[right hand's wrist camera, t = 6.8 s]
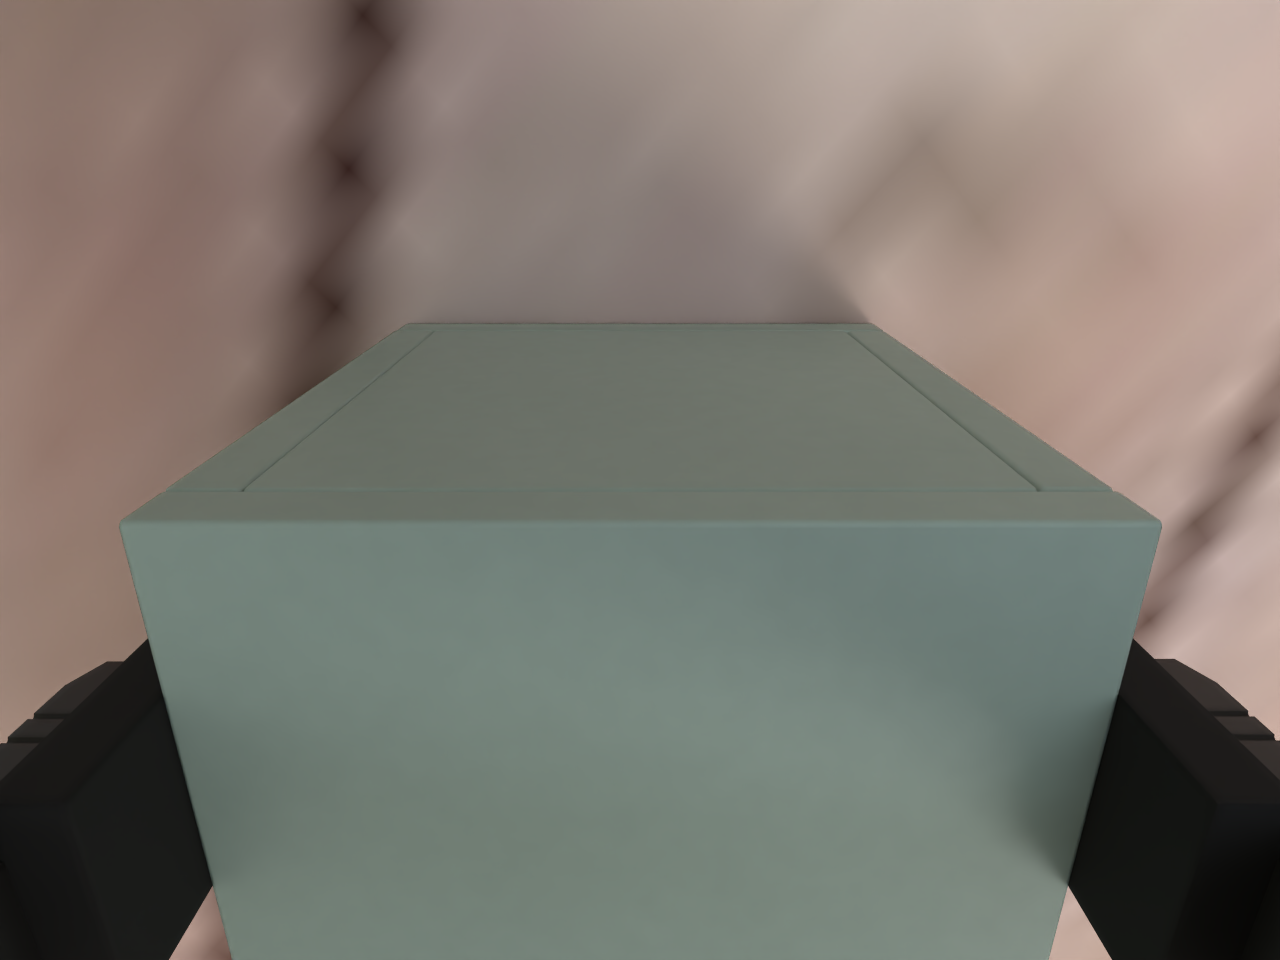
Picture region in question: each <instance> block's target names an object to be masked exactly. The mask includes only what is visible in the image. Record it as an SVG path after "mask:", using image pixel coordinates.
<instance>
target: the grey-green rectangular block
mask: <svg viewBox="0 0 1280 960" xmlns="http://www.w3.org/2000/svg"><path fill="white" fill-rule="evenodd" d="M119 529H120V532H121V536H122V540H123V544H124V548H125V551H126V555H127V559H128V563H129V567H130V571H131V574H132V578H133V582H134V586H135V590H136V594H137V597H138V601H139V605H140V609H141V613H142V617H143V620H144V624H145V628H146V632H147V636H148V639H149V643H150V647H151V651H152V655H153V659H154V662H155V666H156V670H157V674H158V678H159V682H160V685H161V689H162V693H163V697H164V701H165V704H166V708H167V712H168V716H169V720H170V724H171V727H172V731H173V735H174V739H175V743H176V747H177V750H178V754H179V758H180V762H181V766H182V770H183V773H184V777H185V781H186V785H187V789H188V792H189V796H190V800H191V804H192V808H193V812H194V815H195V819H196V823H197V827H198V831H199V835H200V838H201V842H202V846H203V850H204V854H205V857H206V861H207V865H208V869H209V873H210V877H211V880H212V884H213V888H214V892H215V896H216V900H217V903H218V907H219V911H220V915H221V919H222V923H223V926H224V930H225V934H226V938H227V942H228V945H229V949H230V953H231V957H232V960H1048V959H1049V956H1050V952H1051V948H1052V944H1053V940H1054V937H1055V933H1056V929H1057V925H1058V921H1059V917H1060V914H1061V910H1062V906H1063V902H1064V898H1065V895H1066V891H1067V887H1068V883H1069V879H1070V876H1071V872H1072V868H1073V864H1074V860H1075V857H1076V853H1077V849H1078V845H1079V841H1080V837H1081V834H1082V830H1083V826H1084V822H1085V818H1086V815H1087V811H1088V807H1089V803H1090V799H1091V796H1092V792H1093V788H1094V784H1095V780H1096V776H1097V773H1098V769H1099V765H1100V761H1101V757H1102V754H1103V750H1104V746H1105V742H1106V738H1107V735H1108V731H1109V727H1110V723H1111V719H1112V715H1113V712H1114V708H1115V704H1116V700H1117V696H1118V693H1119V689H1120V685H1121V681H1122V677H1123V674H1124V670H1125V666H1126V662H1127V658H1128V655H1129V651H1130V647H1131V643H1132V639H1133V635H1134V632H1135V628H1136V624H1137V620H1138V616H1139V613H1140V609H1141V605H1142V601H1143V597H1144V594H1145V590H1146V586H1147V582H1148V578H1149V574H1150V571H1151V567H1152V563H1153V559H1154V555H1155V552H1156V548H1157V544H1158V540H1159V536H1160V533H1161V529H1162V524H1161V521H1160V520H1159V519H1157V518H1156V517H1154V516H1153V515H1151V514H1150V513H1149V512H1147V511H1146V510H1144V509H1143V508H1141V507H1140V506H1138V505H1137V504H1135V503H1134V502H1132V501H1131V500H1130V499H1128V498H1127V497H1125V496H1124V495H1122V494H1121V493H1118V492H1113V491H1112V489H1111V488H1110V487H1109V486H1108V485H1106V484H1105V483H1103V482H1102V481H1100V480H1099V479H1097V478H1096V477H1095V476H1093V475H1092V474H1090V473H1089V472H1087V471H1086V470H1084V469H1083V468H1081V467H1080V466H1079V465H1077V464H1076V463H1074V462H1073V461H1071V460H1070V459H1068V458H1067V457H1065V456H1064V455H1063V454H1061V453H1060V452H1058V451H1057V450H1055V449H1054V448H1052V447H1051V446H1049V445H1048V444H1047V443H1045V442H1044V441H1042V440H1041V439H1039V438H1038V437H1036V436H1035V435H1034V434H1032V433H1031V432H1029V431H1028V430H1026V429H1025V428H1023V427H1022V426H1020V425H1019V424H1018V423H1016V422H1015V421H1013V420H1012V419H1010V418H1009V417H1007V416H1006V415H1004V414H1003V413H1002V412H1000V411H999V410H997V409H996V408H994V407H993V406H991V405H990V404H989V403H987V402H986V401H984V400H983V399H981V398H980V397H978V396H977V395H975V394H974V393H973V392H971V391H970V390H968V389H967V388H965V387H964V386H962V385H961V384H959V383H958V382H957V381H955V380H954V379H952V378H951V377H949V376H948V375H946V374H945V373H943V372H942V371H941V370H939V369H938V368H936V367H935V366H933V365H932V364H930V363H929V362H928V361H926V360H925V359H923V358H922V357H920V356H919V355H917V354H916V353H914V352H913V351H912V350H910V349H909V348H907V347H906V346H904V345H903V344H901V343H900V342H898V341H897V340H896V339H894V338H893V337H891V336H890V335H888V334H887V333H885V332H883V331H882V330H881V329H880V328H878V327H877V326H875V325H873V324H406V325H405V326H403V327H402V328H400V329H399V330H397V331H395V332H393V333H392V334H390V335H389V336H387V337H386V338H385V339H383V340H382V341H380V342H379V343H377V344H376V345H374V346H373V347H371V348H370V349H369V350H367V351H366V352H364V353H363V354H361V355H360V356H358V357H357V358H356V359H354V360H353V361H351V362H350V363H348V364H347V365H345V366H344V367H342V368H341V369H340V370H338V371H337V372H335V373H334V374H332V375H331V376H329V377H328V378H326V379H325V380H324V381H322V382H321V383H319V384H318V385H316V386H315V387H313V388H312V389H311V390H309V391H308V392H306V393H305V394H303V395H302V396H300V397H299V398H297V399H296V400H295V401H293V402H292V403H290V404H289V405H287V406H286V407H284V408H283V409H281V410H280V411H279V412H277V413H276V414H274V415H273V416H271V417H270V418H268V419H267V420H266V421H264V422H263V423H261V424H260V425H258V426H257V427H255V428H254V429H252V430H251V431H250V432H248V433H247V434H245V435H244V436H242V437H241V438H239V439H238V440H236V441H235V442H234V443H232V444H231V445H229V446H228V447H226V448H225V449H223V450H222V451H221V452H219V453H218V454H216V455H215V456H213V457H212V458H210V459H209V460H207V461H206V462H205V463H203V464H202V465H200V466H199V467H197V468H196V469H194V470H193V471H191V472H190V473H189V474H187V475H186V476H184V477H183V478H181V479H180V480H178V481H177V482H176V483H174V484H173V485H171V486H170V487H168V488H167V489H166V492H163V493H160V494H159V495H157V496H156V497H155V498H153V499H152V500H150V501H149V502H147V503H146V504H144V505H143V506H141V507H140V508H139V509H137V510H136V511H134V512H133V513H131V514H130V515H128V516H127V517H126V518H124V519H123V520H121V522H120V526H119Z"/></svg>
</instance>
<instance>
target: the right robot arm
mask: <svg viewBox="0 0 1280 960" xmlns="http://www.w3.org/2000/svg"><path fill="white" fill-rule="evenodd" d="M212 886H213V884H212V880H211V877H210V873H209V869H208V865H207V861H206V857H205V854H204V850H203V846H202V842H201V838H200V835H199V831H198V827H197V823H196V819H195V815H194V812H193V808H192V804H191V800H190V796H189V792H188V789H187V785H186V781H185V777H184V773H183V770H182V766H181V762H180V758H179V754H178V750H177V747H176V743H175V739H174V735H173V731H172V727H171V724H170V720H169V716H168V712H167V708H166V704H165V701H164V697H163V693H162V689H161V685H160V682H159V678H158V674H157V670H156V666H155V662H154V659H153V655H152V651H151V647H150V643H149V639H147V640H146V641H145V642H144V643H143V644H142V645H141V646H140V647H139V648H137V649H136V650H135V651H134V652H133V653H132V654H131V655H130V656H129V657H128V658H127V659H126V660H125V661H124V662H106V663H104V664H102V665H100V666H99V667H97V668H95V669H93V670H91V671H90V672H88V673H86V674H84V675H83V676H81V677H79V678H77V679H76V680H74V681H72V682H70V683H69V684H67V685H65V686H64V687H63V688H62V689H61V690H59V691H58V692H57V693H56V694H55V695H54V696H53V697H52V698H51V699H50V700H48V701H47V702H46V703H45V704H44V705H43V706H42V707H41V708H40V709H39V710H37V711H36V712H35V713H34V718H33V719H27V720H26V721H25V722H24V723H23V724H22V725H21V726H20V727H19V728H18V729H16V730H15V731H14V732H13V733H12V734H11V735H10V736H9V737H8V741H7V743H1V744H0V960H169V958H170V957H171V955H172V953H173V952H174V950H175V948H176V947H177V945H178V943H179V942H180V940H181V938H182V936H183V935H184V933H185V931H186V930H187V928H188V926H189V925H190V923H191V921H192V920H193V918H194V916H195V915H196V913H197V911H198V909H199V908H200V906H201V904H202V903H203V901H204V899H205V898H206V896H207V894H208V893H209V891H210V889H211V887H212ZM1068 886H1069V888H1070V889H1071V891H1072V893H1073V895H1074V896H1075V898H1076V900H1077V901H1078V903H1079V905H1080V906H1081V908H1082V910H1083V911H1084V913H1085V915H1086V916H1087V918H1088V920H1089V922H1090V923H1091V925H1092V927H1093V928H1094V930H1095V932H1096V933H1097V935H1098V937H1099V938H1100V940H1101V942H1102V943H1103V945H1104V947H1105V949H1106V950H1107V952H1108V954H1109V955H1110V957H1111V959H1112V960H1280V741H1276V740H1275V738H1274V734H1273V733H1272V732H1271V731H1270V730H1269V729H1268V728H1267V727H1265V726H1264V725H1263V724H1262V723H1261V722H1260V721H1259V720H1258V719H1257V718H1255V717H1249V715H1248V710H1247V709H1245V708H1244V707H1243V706H1242V705H1241V704H1240V703H1239V702H1238V701H1237V700H1235V699H1234V698H1233V697H1232V696H1231V695H1230V694H1229V693H1228V692H1227V691H1225V690H1224V689H1223V688H1222V687H1221V686H1220V685H1219V684H1218V683H1216V682H1215V681H1213V680H1211V679H1209V678H1207V677H1206V676H1204V675H1202V674H1200V673H1199V672H1197V671H1195V670H1193V669H1191V668H1190V667H1188V666H1186V665H1184V664H1183V663H1181V662H1179V661H1177V660H1175V659H1154V658H1153V657H1152V656H1151V655H1150V654H1149V653H1148V652H1147V651H1145V650H1144V649H1143V648H1142V647H1141V646H1140V645H1139V644H1138V643H1137V642H1136V641H1135V640H1134V639H1132V643H1131V647H1130V651H1129V655H1128V658H1127V662H1126V666H1125V670H1124V674H1123V677H1122V681H1121V685H1120V689H1119V693H1118V696H1117V700H1116V704H1115V708H1114V712H1113V715H1112V719H1111V723H1110V727H1109V731H1108V735H1107V738H1106V742H1105V746H1104V750H1103V754H1102V757H1101V761H1100V765H1099V769H1098V773H1097V776H1096V780H1095V784H1094V788H1093V792H1092V796H1091V799H1090V803H1089V807H1088V811H1087V815H1086V818H1085V822H1084V826H1083V830H1082V834H1081V837H1080V841H1079V845H1078V849H1077V853H1076V857H1075V860H1074V864H1073V868H1072V872H1071V876H1070V879H1069V883H1068Z"/></svg>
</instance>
